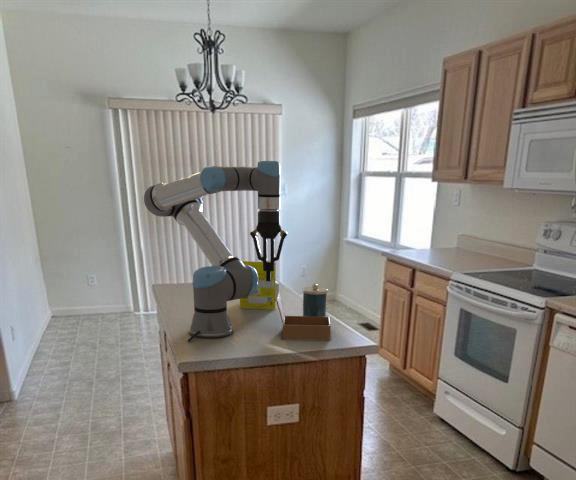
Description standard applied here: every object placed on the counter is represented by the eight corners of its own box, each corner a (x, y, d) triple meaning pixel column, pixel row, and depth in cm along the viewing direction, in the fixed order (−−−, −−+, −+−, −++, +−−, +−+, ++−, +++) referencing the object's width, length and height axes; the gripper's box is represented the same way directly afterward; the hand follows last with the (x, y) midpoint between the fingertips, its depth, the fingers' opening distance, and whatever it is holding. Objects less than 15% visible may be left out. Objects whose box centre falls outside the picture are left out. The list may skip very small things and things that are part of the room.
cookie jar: (316, 329, 202) (317, 287, 196) (296, 324, 208) (297, 283, 202) (331, 324, 209) (333, 283, 203) (311, 320, 214) (313, 280, 208)
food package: (275, 309, 230) (275, 262, 223) (274, 309, 229) (275, 262, 222) (240, 307, 232) (239, 260, 224) (239, 308, 231) (239, 261, 223)
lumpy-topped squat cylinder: (280, 299, 246) (280, 281, 243) (252, 300, 243) (252, 281, 240) (275, 294, 256) (275, 276, 253) (248, 295, 253) (248, 277, 250)
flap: (283, 322, 187) (282, 323, 187) (284, 313, 199) (283, 314, 199) (277, 300, 184) (276, 300, 184) (279, 292, 196) (278, 292, 196)
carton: (282, 339, 189) (282, 324, 187) (283, 329, 201) (284, 315, 199) (329, 340, 189) (330, 326, 187) (328, 330, 201) (329, 316, 199)
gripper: (288, 210, 182) (287, 278, 191) (250, 209, 183) (251, 278, 192) (287, 211, 176) (286, 283, 184) (248, 210, 176) (249, 282, 185)
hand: (268, 280), depth 188 cm, fingers closed
